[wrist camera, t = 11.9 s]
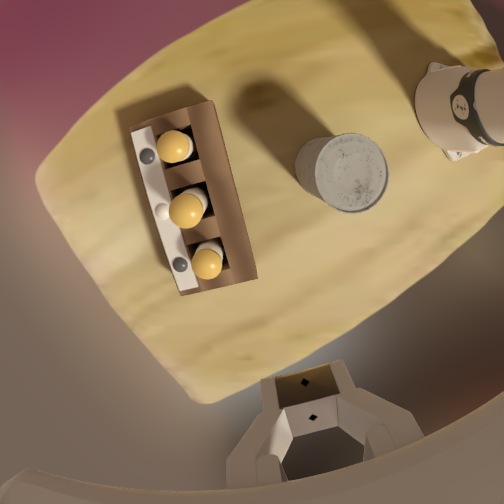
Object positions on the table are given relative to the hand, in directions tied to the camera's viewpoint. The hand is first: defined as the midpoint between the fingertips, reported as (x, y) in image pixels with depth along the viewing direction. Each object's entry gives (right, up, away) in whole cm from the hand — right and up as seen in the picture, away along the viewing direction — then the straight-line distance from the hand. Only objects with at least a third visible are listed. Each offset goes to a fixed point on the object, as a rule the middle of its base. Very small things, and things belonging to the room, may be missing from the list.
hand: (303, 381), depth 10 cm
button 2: (-8, +5, +37) cm, 38 cm away
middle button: (-10, +12, +32) cm, 35 cm away
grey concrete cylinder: (+9, +18, +34) cm, 39 cm away
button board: (-10, +13, +34) cm, 38 cm away
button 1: (-12, +20, +31) cm, 39 cm away
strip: (-14, +10, +30) cm, 34 cm away
